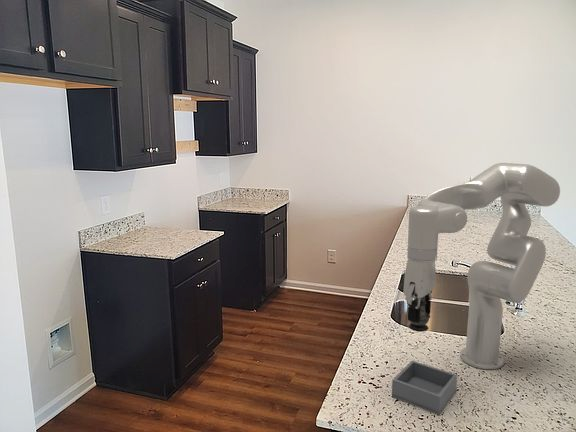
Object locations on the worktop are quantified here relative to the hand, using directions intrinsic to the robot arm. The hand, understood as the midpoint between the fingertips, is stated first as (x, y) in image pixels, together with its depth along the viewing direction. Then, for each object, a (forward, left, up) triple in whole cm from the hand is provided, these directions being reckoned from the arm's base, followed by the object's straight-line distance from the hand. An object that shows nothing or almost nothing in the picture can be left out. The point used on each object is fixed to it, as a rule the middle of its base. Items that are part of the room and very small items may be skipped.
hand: (419, 316), depth 122 cm
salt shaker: (0, 0, -3) cm, 3 cm away
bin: (+1, +3, -21) cm, 22 cm away
